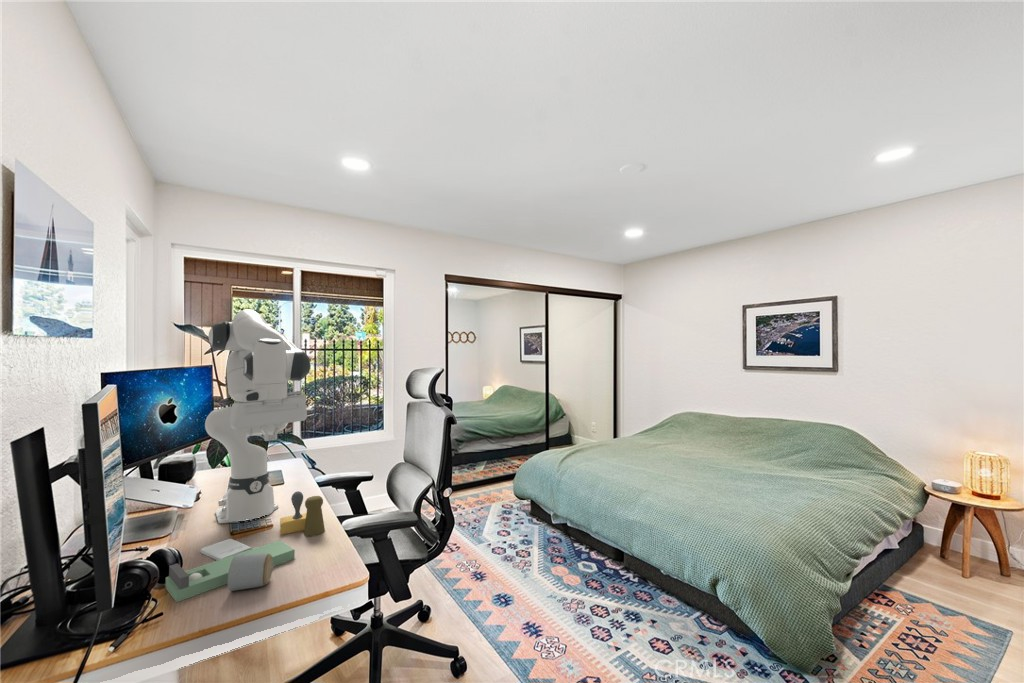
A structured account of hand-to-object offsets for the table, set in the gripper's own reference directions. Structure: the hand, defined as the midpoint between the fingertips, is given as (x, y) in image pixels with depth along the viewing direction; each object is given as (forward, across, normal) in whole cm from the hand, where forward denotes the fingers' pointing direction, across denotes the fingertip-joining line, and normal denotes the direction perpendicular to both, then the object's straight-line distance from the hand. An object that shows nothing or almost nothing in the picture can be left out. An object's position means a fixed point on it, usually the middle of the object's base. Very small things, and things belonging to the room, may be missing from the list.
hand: (270, 440), depth 125 cm
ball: (+31, +20, +8) cm, 38 cm away
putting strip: (+31, +12, +8) cm, 34 cm away
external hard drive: (+32, +9, -8) cm, 34 cm away
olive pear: (+31, -13, -1) cm, 34 cm away
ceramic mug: (+32, +11, +18) cm, 38 cm away
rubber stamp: (+31, -11, -8) cm, 34 cm away
